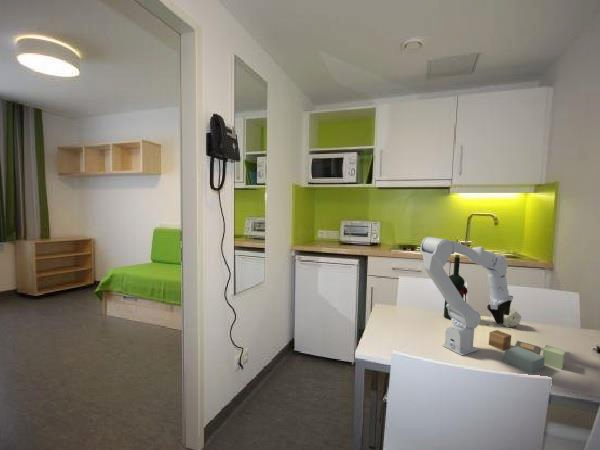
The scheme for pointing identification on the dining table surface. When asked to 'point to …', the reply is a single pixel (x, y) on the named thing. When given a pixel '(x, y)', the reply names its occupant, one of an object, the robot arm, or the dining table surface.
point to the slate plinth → (524, 359)
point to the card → (528, 347)
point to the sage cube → (554, 356)
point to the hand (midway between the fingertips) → (502, 319)
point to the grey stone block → (512, 318)
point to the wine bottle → (456, 284)
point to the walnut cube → (500, 340)
